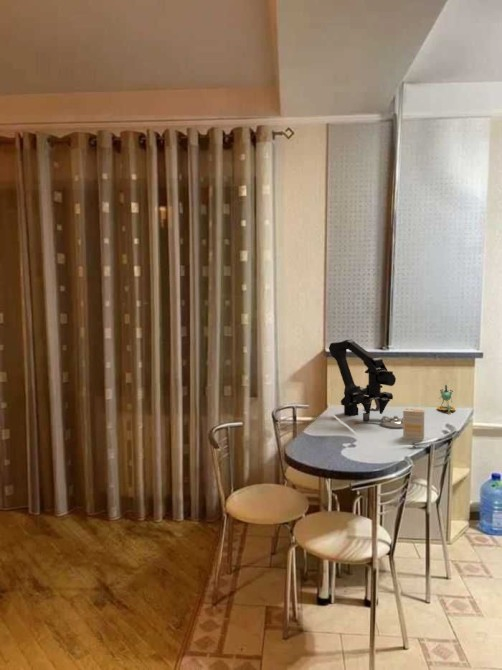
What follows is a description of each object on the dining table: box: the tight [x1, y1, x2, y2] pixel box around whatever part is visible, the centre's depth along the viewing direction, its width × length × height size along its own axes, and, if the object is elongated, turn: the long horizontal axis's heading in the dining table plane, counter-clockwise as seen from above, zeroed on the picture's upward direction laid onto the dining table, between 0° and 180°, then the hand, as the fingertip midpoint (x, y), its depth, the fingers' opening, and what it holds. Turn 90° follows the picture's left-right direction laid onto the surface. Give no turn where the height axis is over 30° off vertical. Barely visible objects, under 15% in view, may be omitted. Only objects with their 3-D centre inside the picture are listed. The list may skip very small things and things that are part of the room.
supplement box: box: [402, 408, 425, 441], centre depth 214 cm, size 8×5×13 cm, turn 65°
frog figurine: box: [436, 384, 457, 415], centre depth 269 cm, size 10×18×15 cm, turn 154°
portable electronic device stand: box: [363, 397, 379, 412], centre depth 269 cm, size 9×8×8 cm
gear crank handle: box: [362, 412, 403, 430], centre depth 237 cm, size 20×12×4 cm, turn 67°
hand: (374, 415), depth 245 cm, fingers open, 8 cm apart
